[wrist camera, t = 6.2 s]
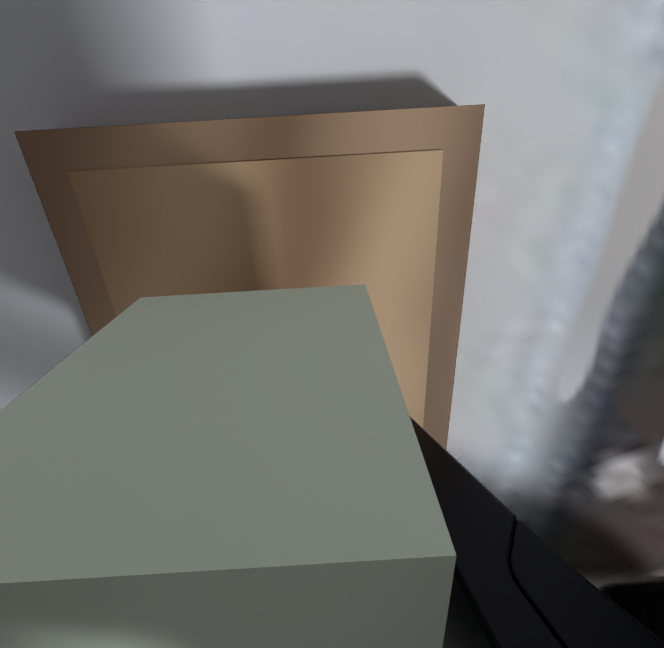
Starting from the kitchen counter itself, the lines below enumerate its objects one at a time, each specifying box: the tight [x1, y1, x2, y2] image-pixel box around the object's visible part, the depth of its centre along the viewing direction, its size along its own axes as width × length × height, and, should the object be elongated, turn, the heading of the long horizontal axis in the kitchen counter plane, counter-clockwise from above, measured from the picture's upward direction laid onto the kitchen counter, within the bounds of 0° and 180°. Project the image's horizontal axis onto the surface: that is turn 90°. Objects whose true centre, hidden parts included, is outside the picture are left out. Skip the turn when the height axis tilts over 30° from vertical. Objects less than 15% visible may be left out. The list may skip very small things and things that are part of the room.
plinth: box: [15, 104, 485, 450], centre depth 12 cm, size 12×12×2 cm
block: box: [0, 284, 456, 648], centre depth 6 cm, size 5×5×6 cm
